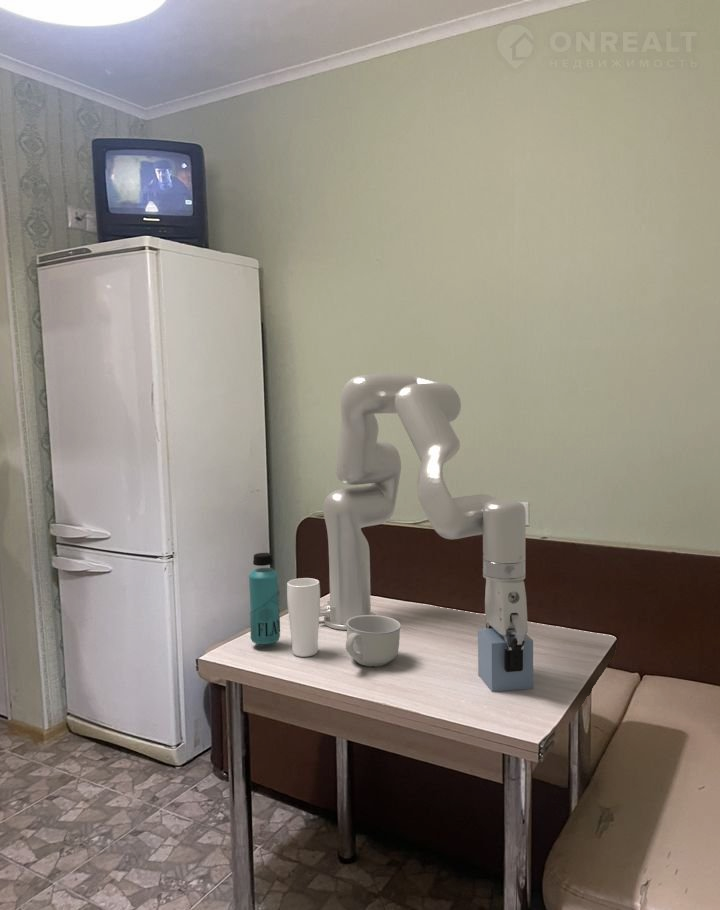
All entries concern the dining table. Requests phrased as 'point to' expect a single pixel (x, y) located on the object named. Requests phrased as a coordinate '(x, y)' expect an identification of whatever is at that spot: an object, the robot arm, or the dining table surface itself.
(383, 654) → the teacup
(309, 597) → the drinking glass
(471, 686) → the dining table surface
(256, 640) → the beverage bottle
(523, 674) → the pale blue cube
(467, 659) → the dining table surface
